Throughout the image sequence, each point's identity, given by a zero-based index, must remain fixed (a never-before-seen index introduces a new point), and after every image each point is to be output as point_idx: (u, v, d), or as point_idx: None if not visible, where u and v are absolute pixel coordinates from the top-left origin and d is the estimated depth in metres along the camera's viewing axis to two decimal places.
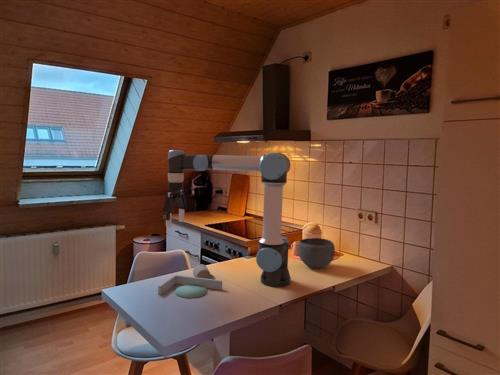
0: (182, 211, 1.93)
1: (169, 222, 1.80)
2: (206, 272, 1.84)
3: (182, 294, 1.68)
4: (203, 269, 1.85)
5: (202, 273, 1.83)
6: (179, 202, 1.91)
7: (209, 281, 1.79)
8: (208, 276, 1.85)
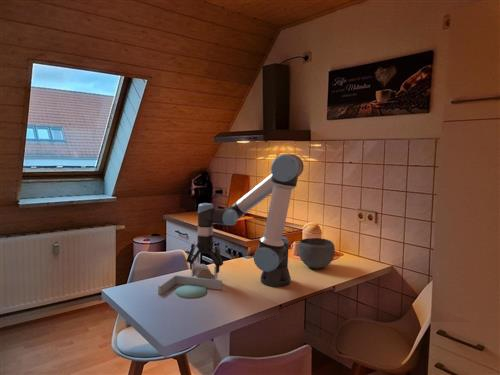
0: None
1: None
2: (207, 272, 1.84)
3: (182, 294, 1.68)
4: (204, 269, 1.85)
5: (203, 273, 1.84)
6: None
7: (209, 281, 1.79)
8: (209, 276, 1.85)
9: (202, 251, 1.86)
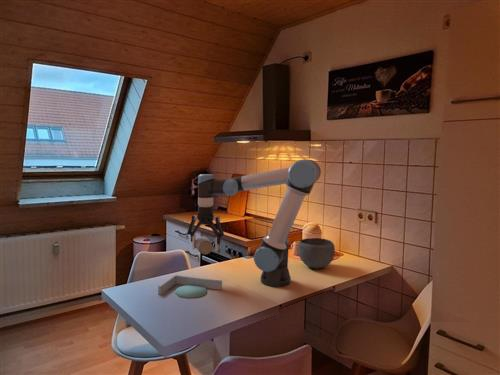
0: None
1: None
2: (208, 243, 1.83)
3: (182, 294, 1.68)
4: (205, 240, 1.83)
5: (204, 244, 1.82)
6: None
7: (209, 281, 1.79)
8: (210, 247, 1.84)
9: (203, 222, 1.85)
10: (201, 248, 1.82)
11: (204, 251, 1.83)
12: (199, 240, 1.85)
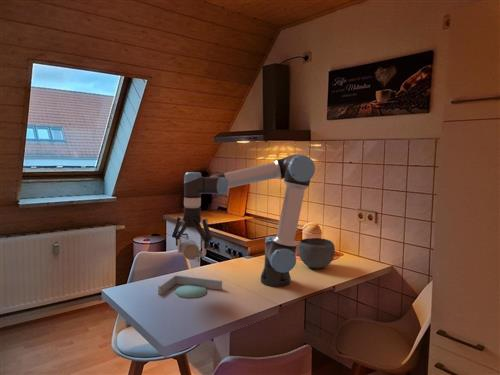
0: None
1: None
2: (194, 247, 1.68)
3: (182, 294, 1.68)
4: (191, 244, 1.68)
5: (190, 248, 1.67)
6: None
7: (209, 281, 1.79)
8: (197, 252, 1.68)
9: (189, 225, 1.70)
10: (186, 253, 1.67)
11: (190, 256, 1.67)
12: (185, 244, 1.70)
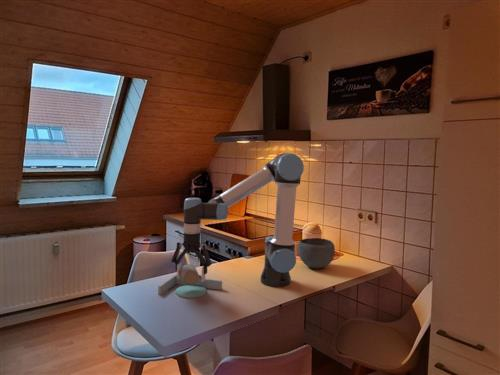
0: None
1: None
2: (194, 273, 1.69)
3: (182, 294, 1.68)
4: (191, 269, 1.69)
5: (189, 274, 1.68)
6: None
7: (209, 281, 1.79)
8: (196, 277, 1.69)
9: (188, 250, 1.71)
10: (186, 278, 1.68)
11: (189, 281, 1.69)
12: (184, 269, 1.71)
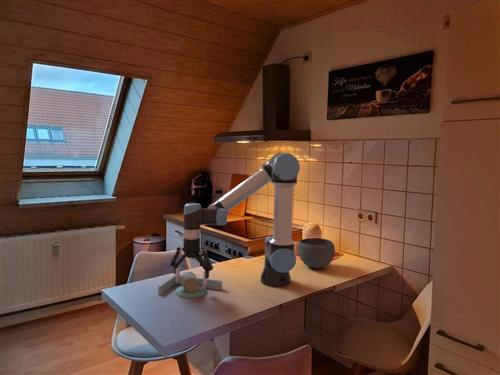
0: None
1: None
2: (194, 281, 1.69)
3: (182, 294, 1.68)
4: (191, 277, 1.70)
5: (189, 282, 1.69)
6: None
7: (209, 281, 1.79)
8: (196, 285, 1.70)
9: (188, 256, 1.71)
10: (186, 286, 1.68)
11: (189, 289, 1.69)
12: (184, 277, 1.71)
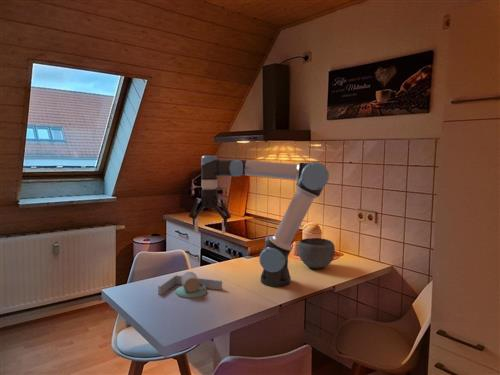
0: None
1: None
2: (195, 281, 1.69)
3: (182, 294, 1.68)
4: (191, 277, 1.70)
5: (190, 282, 1.69)
6: None
7: (209, 281, 1.79)
8: (197, 285, 1.70)
9: (207, 206, 1.78)
10: (187, 286, 1.68)
11: (190, 289, 1.69)
12: (185, 277, 1.72)
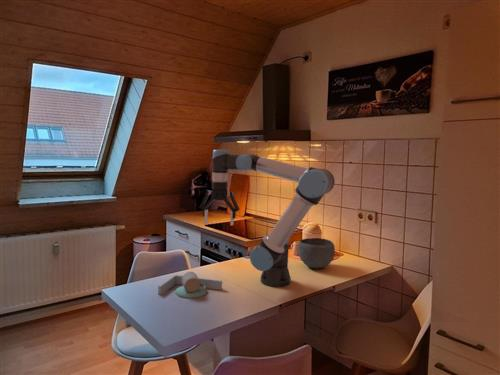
0: None
1: None
2: (195, 280, 1.69)
3: (182, 294, 1.68)
4: (192, 277, 1.70)
5: (191, 282, 1.69)
6: None
7: (209, 281, 1.79)
8: (197, 285, 1.70)
9: (217, 198, 1.85)
10: (187, 286, 1.69)
11: (191, 289, 1.69)
12: (185, 277, 1.72)
